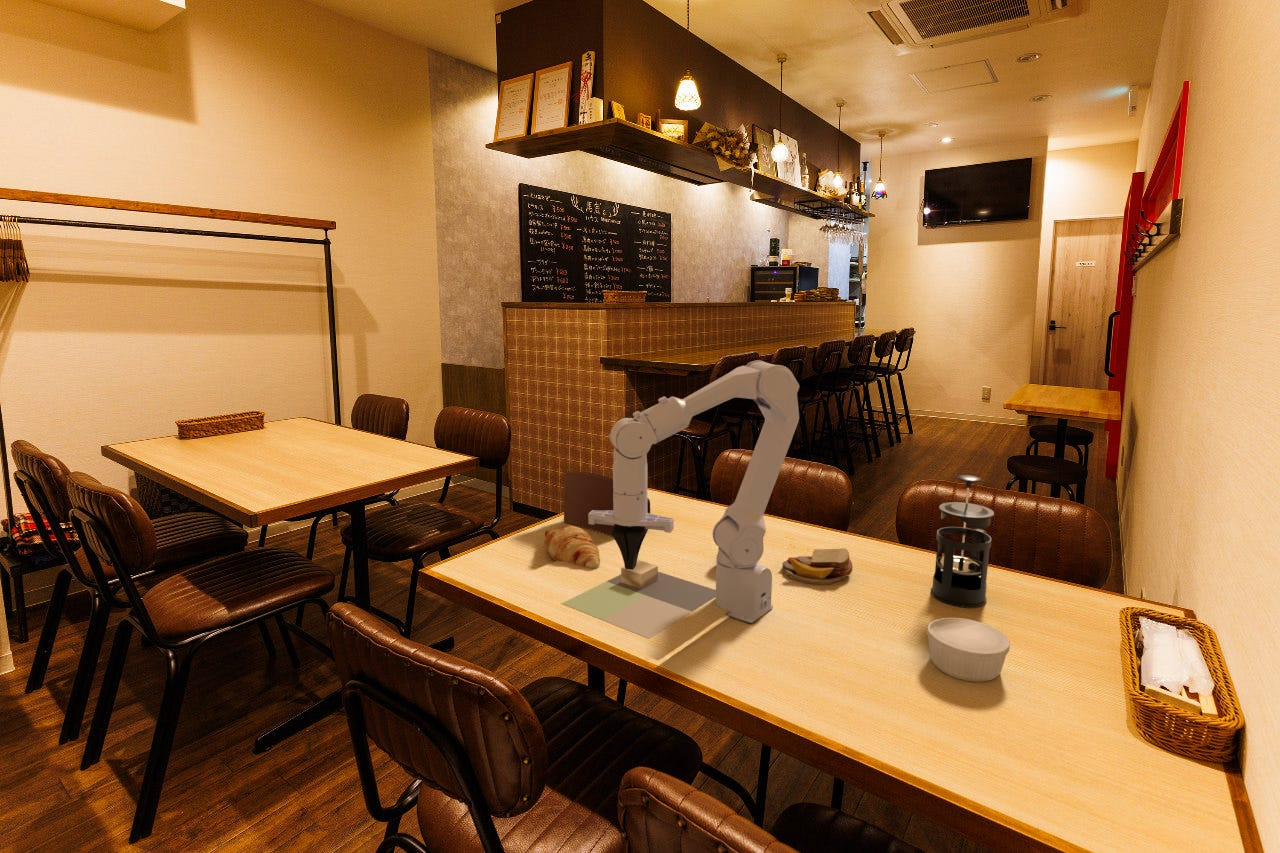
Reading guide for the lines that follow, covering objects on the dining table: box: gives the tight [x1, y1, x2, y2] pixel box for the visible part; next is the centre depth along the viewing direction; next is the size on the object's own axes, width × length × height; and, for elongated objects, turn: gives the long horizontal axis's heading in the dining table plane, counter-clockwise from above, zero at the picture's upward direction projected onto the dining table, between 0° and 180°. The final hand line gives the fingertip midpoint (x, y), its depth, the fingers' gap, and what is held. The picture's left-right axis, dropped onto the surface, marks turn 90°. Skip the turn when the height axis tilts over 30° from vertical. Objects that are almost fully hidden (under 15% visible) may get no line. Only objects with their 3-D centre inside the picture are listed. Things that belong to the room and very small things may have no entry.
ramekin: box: [926, 617, 1011, 683], centre depth 101 cm, size 11×11×5 cm
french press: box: [930, 474, 995, 609], centre depth 123 cm, size 12×9×23 cm
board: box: [560, 571, 716, 640], centre depth 122 cm, size 20×22×1 cm
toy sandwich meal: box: [782, 547, 853, 585], centre depth 135 cm, size 12×14×5 cm
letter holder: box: [563, 470, 651, 537], centre depth 162 cm, size 10×20×14 cm, turn 51°
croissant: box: [543, 524, 601, 570], centre depth 144 cm, size 21×10×8 cm, turn 37°
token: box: [620, 559, 659, 589], centre depth 129 cm, size 5×5×3 cm
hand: (630, 567), depth 115 cm, fingers closed
